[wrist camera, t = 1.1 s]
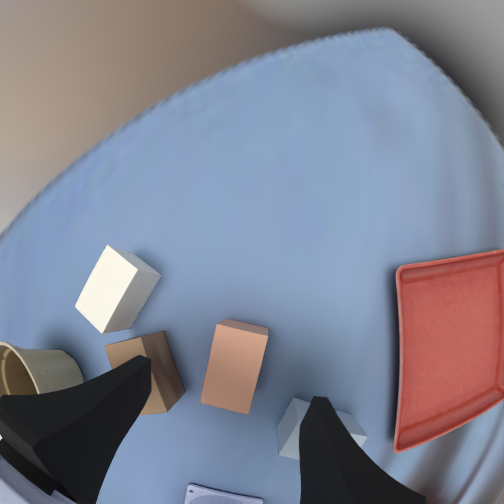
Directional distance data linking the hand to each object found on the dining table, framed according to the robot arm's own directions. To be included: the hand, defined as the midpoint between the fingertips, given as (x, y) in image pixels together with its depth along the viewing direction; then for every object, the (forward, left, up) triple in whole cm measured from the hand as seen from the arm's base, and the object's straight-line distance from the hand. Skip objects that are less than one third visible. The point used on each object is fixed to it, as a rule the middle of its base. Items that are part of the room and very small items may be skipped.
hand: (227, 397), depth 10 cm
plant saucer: (+3, -22, -12) cm, 25 cm away
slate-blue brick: (-6, -8, -12) cm, 15 cm away
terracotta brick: (-1, 0, -12) cm, 12 cm away
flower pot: (-10, +18, -12) cm, 24 cm away
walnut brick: (-4, +7, -12) cm, 14 cm away
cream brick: (+2, +11, -12) cm, 17 cm away
